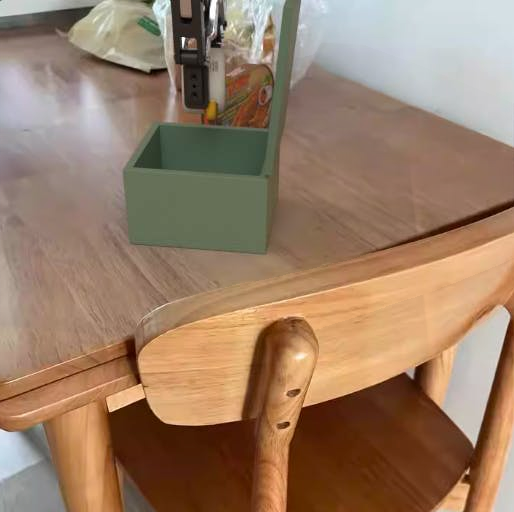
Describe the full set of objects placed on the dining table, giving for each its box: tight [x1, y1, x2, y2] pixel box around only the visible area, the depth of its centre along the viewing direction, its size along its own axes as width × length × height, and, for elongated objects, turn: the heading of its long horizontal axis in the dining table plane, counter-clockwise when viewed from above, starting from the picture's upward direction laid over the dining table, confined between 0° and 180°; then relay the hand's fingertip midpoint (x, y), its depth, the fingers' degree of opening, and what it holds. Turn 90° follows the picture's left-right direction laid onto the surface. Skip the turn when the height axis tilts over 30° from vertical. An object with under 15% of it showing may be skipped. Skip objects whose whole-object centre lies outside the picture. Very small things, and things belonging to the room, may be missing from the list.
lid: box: [264, 0, 302, 176], centre depth 67 cm, size 14×13×1 cm
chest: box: [122, 120, 281, 255], centre depth 75 cm, size 14×13×8 cm
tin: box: [200, 63, 275, 128], centre depth 93 cm, size 15×3×8 cm, turn 151°
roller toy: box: [181, 47, 230, 120], centre depth 68 cm, size 4×6×6 cm
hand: (203, 94), depth 69 cm, fingers closed on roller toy, 6 cm apart
